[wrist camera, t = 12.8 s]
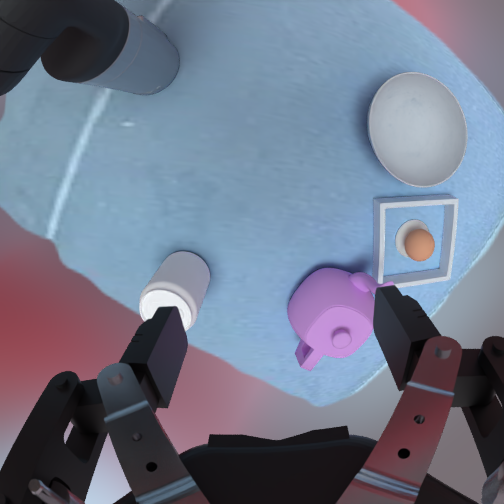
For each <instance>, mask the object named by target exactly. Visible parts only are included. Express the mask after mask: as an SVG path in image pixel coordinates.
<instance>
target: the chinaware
mask: <svg viewBox="0 0 504 504" xmlns="http://www.w3.org/2000/svg"><path fill="white" fill-rule="evenodd" d="M367 131H368V137H369V141H370V144H371V147H372V149H373V151H374V153H375V155H376V157H377V158H378V160H379V161H380V163H381V164H382V165H383V167H384V168H385V169H386V170H387V171H388V172H389V173H390V174H391V175H392V176H394V177H395V178H396V179H398V180H400V181H401V182H403V183H405V184H408V185H411V186H414V187H432V186H436V185H438V184H441V183H443V182H444V181H446V180H447V179H449V178H450V177H451V176H452V175H453V174H454V173H455V172H456V170H457V169H458V168H459V166H460V164H461V162H462V160H463V158H464V155H465V151H466V147H467V125H466V120H465V116H464V113H463V111H462V108H461V106H460V104H459V102H458V100H457V99H456V97H455V96H454V95H453V93H452V92H451V91H450V90H449V89H448V88H447V87H446V86H445V85H444V84H443V83H441V82H440V81H439V80H437V79H435V78H433V77H431V76H429V75H426V74H423V73H418V72H406V73H401V74H398V75H396V76H394V77H392V78H390V79H389V80H387V81H386V82H385V83H384V84H383V85H382V86H381V87H380V88H379V89H378V90H377V92H376V93H375V95H374V97H373V99H372V101H371V103H370V106H369V110H368V115H367Z"/></svg>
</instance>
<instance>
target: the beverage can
mask: <svg viewBox="0 0 504 504" xmlns="http://www.w3.org/2000/svg"><path fill="white" fill-rule="evenodd" d="M209 282H210V272H209V269H208V266H207V265H206V263H205V262H204V261H203V260H202V259H201V258H200V257H199V256H197V255H195V254H193V253H190V252H185V251H180V252H175V253H173V254H171V255H169V256H168V257H167V258H166V259H165V261H164V262H163V263H162V265H161V266H160V267H159V269H158V270H157V271H156V273H155V274H154V276H153V277H152V278H151V280H150V281H149V283H148V284H147V285H146V287H145V288H144V290H143V291H142V293H141V296H140V314H141V317H142V319H143V320H144V322H145V321H146V320H147V319H152V317H153V315H154V313H155V312H156V310H157V308H158V307H164V306H177V307H178V309H179V312H180V316H181V319H182V322H183V326H184V329H185V331H186V330H188V329H189V328H190V327H191V326H192V325H193V324H194V323H195V321H196V319H197V316H198V313H199V310H200V308H201V305H202V302H203V299H204V296H205V294H206V291H207V288H208V285H209Z"/></svg>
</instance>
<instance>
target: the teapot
mask: <svg viewBox="0 0 504 504" xmlns="http://www.w3.org/2000/svg"><path fill="white" fill-rule="evenodd" d="M390 285H394V282H392V281H389V282H386V283H383V284H379V283H377V282H376V281H375V279H374V278H372V277H371V276H370V275H368V274H366V273H363V272H357V273H354V274H351V273H349V272H346V271H343V270H340V269H336V268H323V269H319V270H317V271H315V272H313V273H312V274H311V275H310V276H308V277H307V278H306V279H305V280H304V281H303V282H302V284H301V285H300V286H299V287H298V288H297V290H296V291H295V293H294V294H293V296H292V298H291V300H290V302H289V304H288V308H287V313H288V318H289V321H290V324H291V326H292V328H293V329H294V331H295V332H296V333H297V335H298V336H299V337H300V338H301V340H300V342H299V345H298V347H297V349H296V352H295V355H296V357H297V360H298V362H299V365H300V367H301V368H304V369H306V370H309V371H311V370H312V369H313V367H314V366H315V365H316V364H317V363H318V361H319V360H320V359H321V358H322V356H323V355H327V356H330V357H335V358H344V357H347V356H349V355H351V354H353V353H354V352H355V351H356V350H357V349H358V348H359V347H360V346H361V345H362V344H363V343H364V342H365V341H366V340H367V339H368V337H369V336H370V335H371V333H372V330H373V315H374V304H375V301H374V297H373V295H372V293H374V294H375V292H376V288H377V287H383V286H390ZM371 292H372V293H371Z"/></svg>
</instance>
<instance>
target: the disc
mask: <svg viewBox="0 0 504 504" xmlns="http://www.w3.org/2000/svg"><path fill="white" fill-rule="evenodd" d="M415 229H424V230H426V231H428V232H429V230H428V228H427V226H426V225H425V224H424V223H423V222H422V221H420V220H409V221H407V222H405V223H404V224H403V225H402V226H401V227H400V228H399V229H398V231H397V234H396V237H395V245H396V248H397V250H398V252H399V253H400V254H401V255H403V256H405V257H409V256H408V255H407V253H406V251H405V246H404V244H405V239H406V237H407V235H408V234H409V233H410V232H411V231H413V230H415Z"/></svg>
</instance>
